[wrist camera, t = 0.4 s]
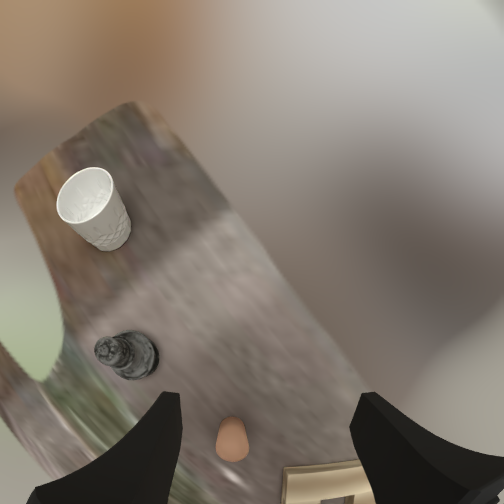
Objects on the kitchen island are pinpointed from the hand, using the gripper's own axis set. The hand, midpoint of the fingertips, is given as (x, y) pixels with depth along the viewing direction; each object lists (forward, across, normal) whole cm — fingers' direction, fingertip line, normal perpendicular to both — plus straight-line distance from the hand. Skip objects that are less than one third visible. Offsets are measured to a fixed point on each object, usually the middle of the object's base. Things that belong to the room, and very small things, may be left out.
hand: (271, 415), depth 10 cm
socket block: (+10, -12, +29) cm, 33 cm away
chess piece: (+22, +13, +13) cm, 29 cm away
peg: (+17, +1, +19) cm, 26 cm away
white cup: (+32, +20, -1) cm, 38 cm away
